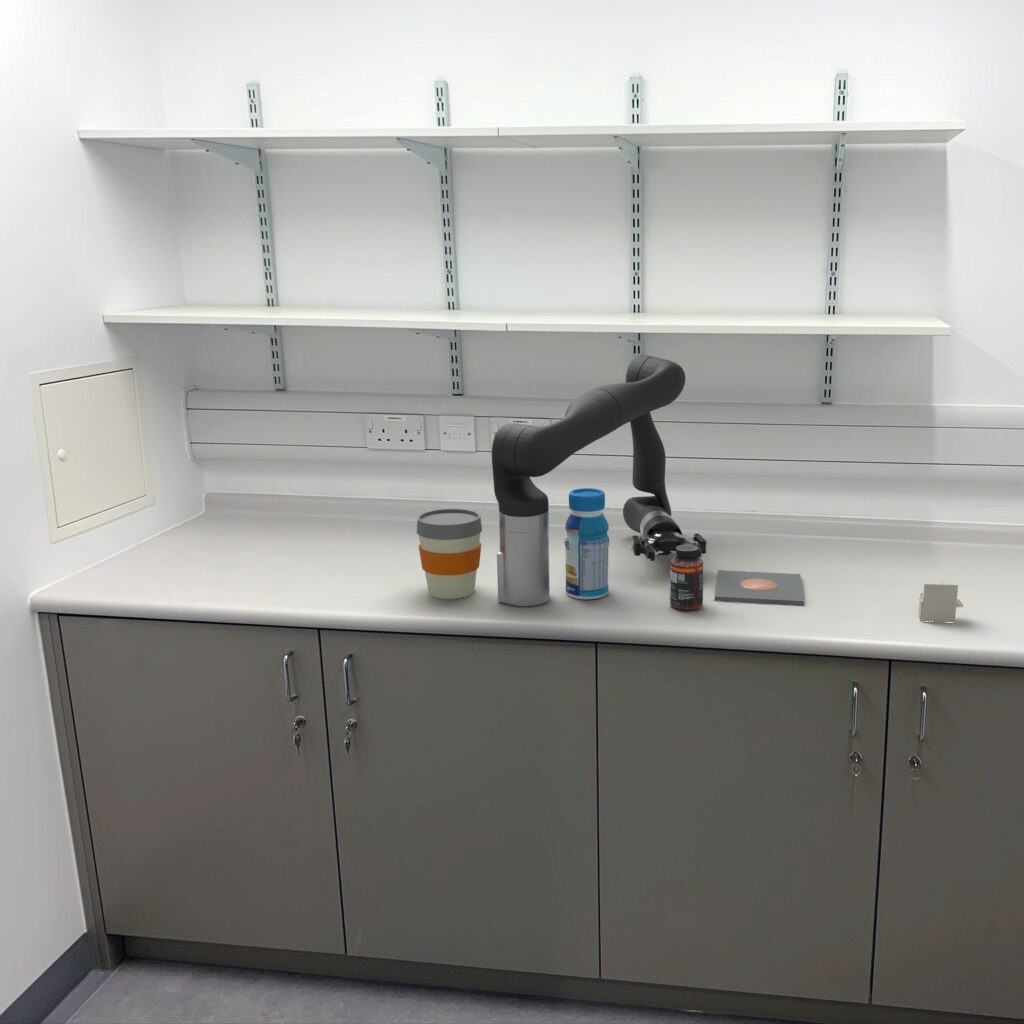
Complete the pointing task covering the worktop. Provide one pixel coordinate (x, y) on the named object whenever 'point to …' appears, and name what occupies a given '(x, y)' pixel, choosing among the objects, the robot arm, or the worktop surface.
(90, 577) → the worktop surface
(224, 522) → the worktop surface
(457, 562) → the reusable coffee cup
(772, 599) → the mat
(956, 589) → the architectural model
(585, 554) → the beverage bottle
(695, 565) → the supplement bottle
